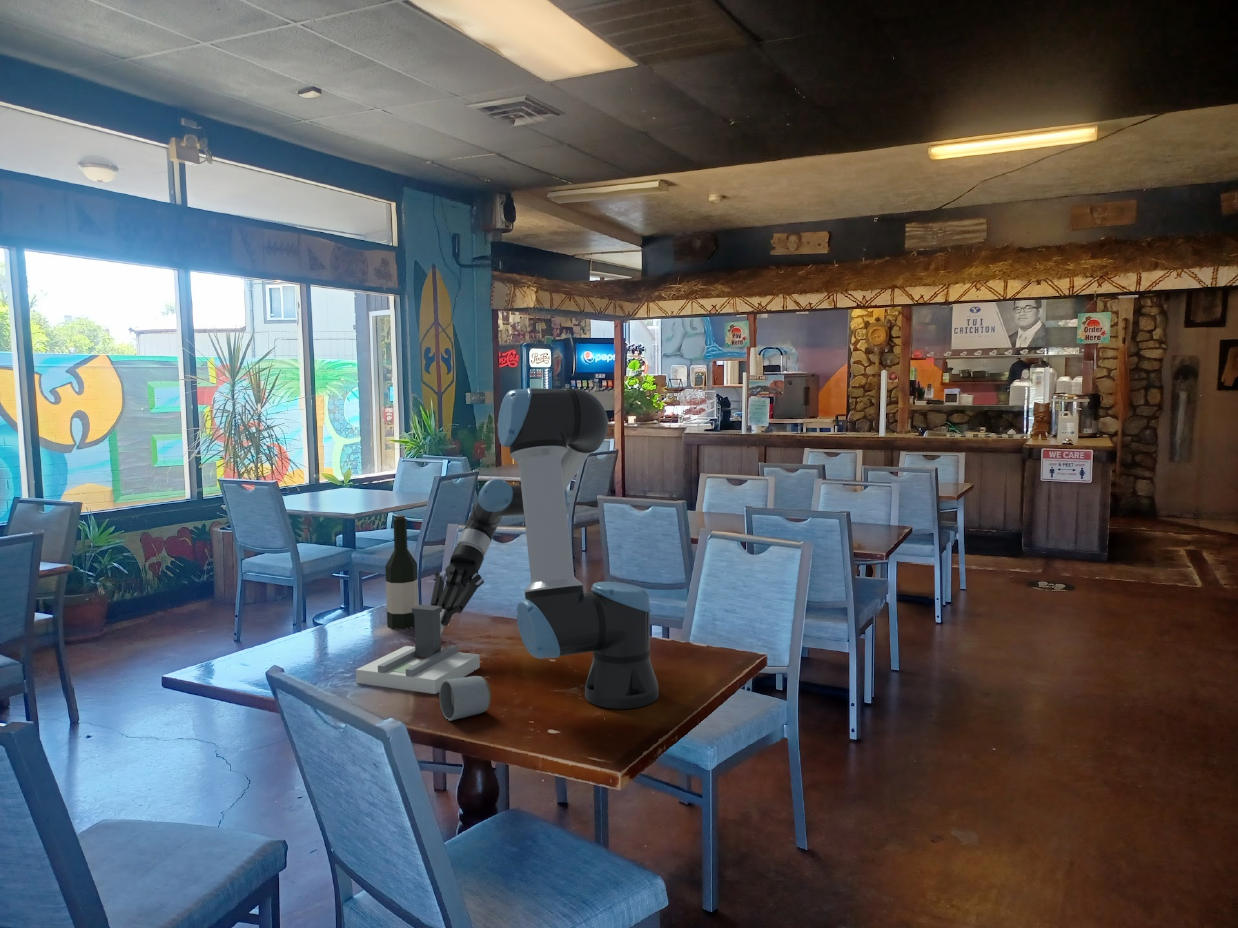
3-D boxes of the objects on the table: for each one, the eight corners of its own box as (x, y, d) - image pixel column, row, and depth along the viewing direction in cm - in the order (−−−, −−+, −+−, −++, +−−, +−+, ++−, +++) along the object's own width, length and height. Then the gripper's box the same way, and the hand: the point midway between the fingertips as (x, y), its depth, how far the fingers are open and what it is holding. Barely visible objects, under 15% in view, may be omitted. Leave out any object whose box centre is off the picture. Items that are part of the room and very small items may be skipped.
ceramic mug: (494, 715, 160) (493, 676, 160) (455, 726, 155) (453, 685, 155) (469, 700, 169) (468, 664, 168) (431, 710, 164) (430, 672, 163)
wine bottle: (386, 622, 228) (383, 514, 225) (417, 619, 230) (414, 512, 228) (387, 630, 220) (384, 518, 217) (420, 627, 222) (416, 517, 220)
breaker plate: (479, 667, 189) (479, 648, 189) (435, 693, 172) (434, 672, 172) (406, 658, 196) (405, 639, 196) (356, 682, 180) (355, 662, 179)
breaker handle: (443, 654, 188) (442, 606, 187) (434, 659, 185) (433, 610, 184) (422, 652, 190) (421, 604, 189) (413, 656, 187) (411, 608, 186)
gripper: (499, 561, 204) (464, 647, 190) (453, 558, 209) (416, 641, 195) (487, 544, 199) (451, 631, 185) (441, 541, 203) (402, 625, 189)
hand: (433, 636), depth 190 cm, fingers closed
